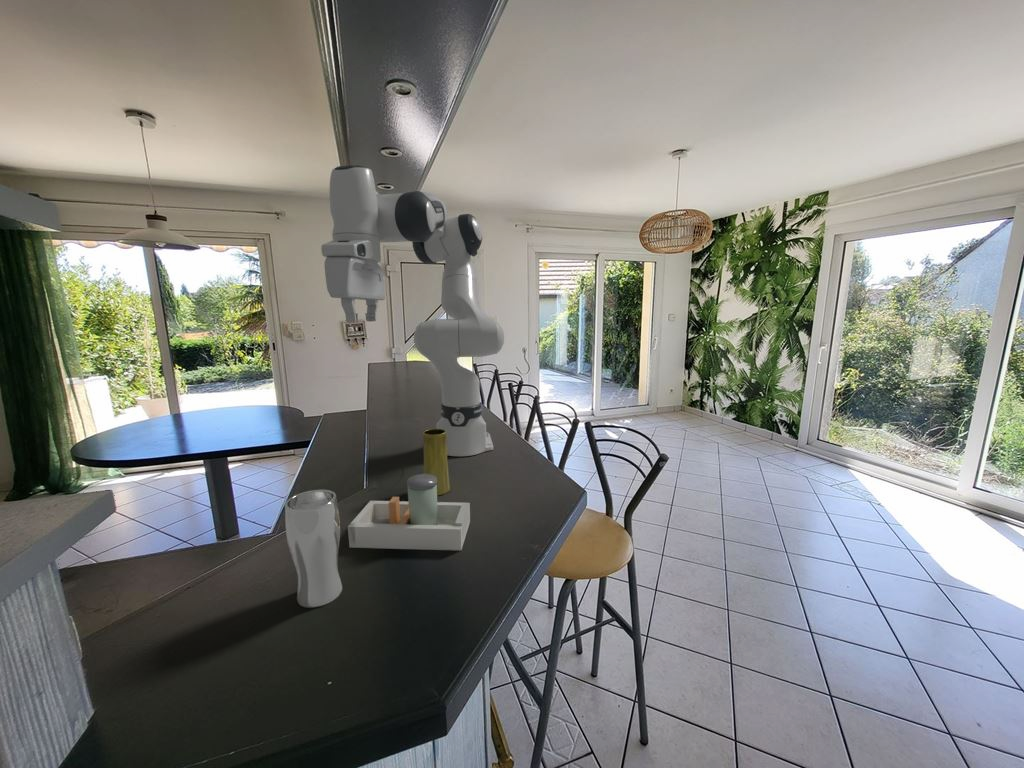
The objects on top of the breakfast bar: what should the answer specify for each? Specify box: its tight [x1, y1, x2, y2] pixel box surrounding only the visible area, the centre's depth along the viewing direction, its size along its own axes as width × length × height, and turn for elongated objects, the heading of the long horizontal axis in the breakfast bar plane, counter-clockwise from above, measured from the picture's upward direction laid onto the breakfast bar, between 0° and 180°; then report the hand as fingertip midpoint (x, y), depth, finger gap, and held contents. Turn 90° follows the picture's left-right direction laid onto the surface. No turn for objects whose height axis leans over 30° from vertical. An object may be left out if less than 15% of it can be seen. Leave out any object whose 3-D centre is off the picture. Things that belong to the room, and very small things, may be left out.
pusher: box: [373, 496, 410, 525], centre depth 76 cm, size 7×7×6 cm
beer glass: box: [284, 489, 343, 609], centre depth 59 cm, size 7×7×15 cm
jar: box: [406, 473, 438, 525], centre depth 76 cm, size 5×5×10 cm
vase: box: [422, 427, 451, 496], centre depth 94 cm, size 6×6×14 cm
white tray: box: [347, 500, 471, 551], centre depth 77 cm, size 10×20×4 cm, turn 87°
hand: (362, 322), depth 84 cm, fingers open, 8 cm apart
